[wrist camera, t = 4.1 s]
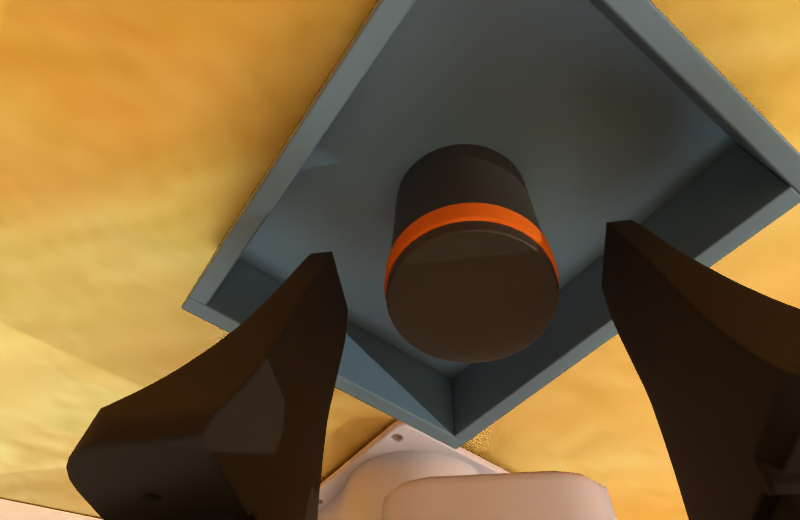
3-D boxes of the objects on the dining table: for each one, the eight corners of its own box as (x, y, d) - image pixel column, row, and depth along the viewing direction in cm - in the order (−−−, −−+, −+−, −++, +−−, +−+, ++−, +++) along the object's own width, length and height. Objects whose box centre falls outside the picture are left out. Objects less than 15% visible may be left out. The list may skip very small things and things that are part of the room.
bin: (452, 383, 22) (456, 450, 20) (216, 250, 19) (180, 308, 16) (758, 133, 15) (828, 182, 13) (475, -150, 12) (488, -166, 9)
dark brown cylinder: (468, 280, 18) (479, 388, 14) (368, 214, 17) (348, 313, 13) (558, 194, 16) (602, 292, 12) (452, 111, 15) (461, 191, 11)
